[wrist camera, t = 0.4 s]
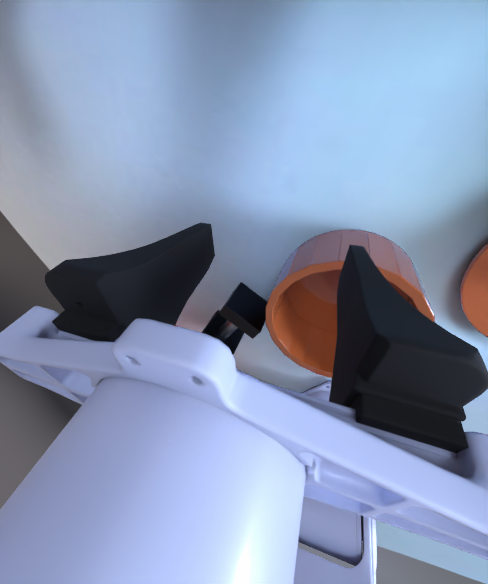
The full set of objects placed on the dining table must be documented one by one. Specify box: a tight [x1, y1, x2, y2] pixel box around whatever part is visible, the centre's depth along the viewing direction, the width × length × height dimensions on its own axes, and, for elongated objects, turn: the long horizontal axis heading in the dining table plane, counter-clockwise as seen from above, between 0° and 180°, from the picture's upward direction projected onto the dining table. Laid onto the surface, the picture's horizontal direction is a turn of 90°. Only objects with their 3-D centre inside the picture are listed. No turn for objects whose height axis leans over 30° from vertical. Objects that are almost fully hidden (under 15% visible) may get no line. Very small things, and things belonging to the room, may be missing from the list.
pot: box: [266, 230, 435, 378], centre depth 22 cm, size 12×12×6 cm
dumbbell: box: [202, 282, 267, 355], centre depth 29 cm, size 8×5×5 cm, turn 148°
